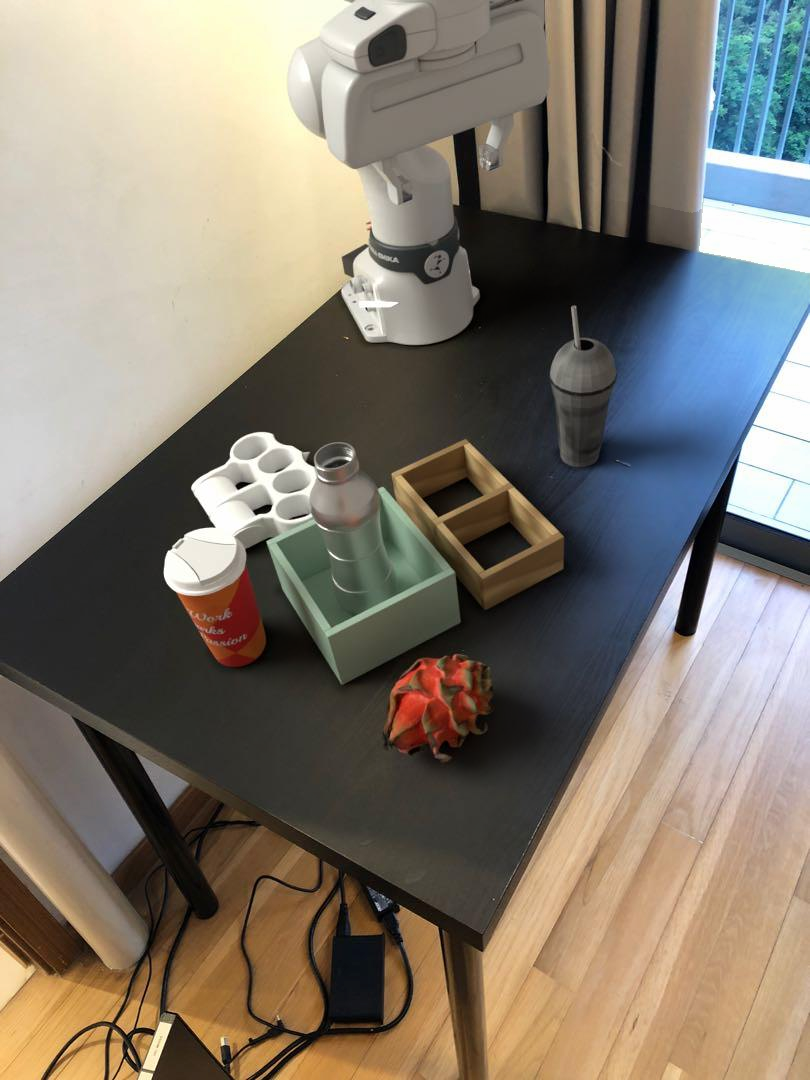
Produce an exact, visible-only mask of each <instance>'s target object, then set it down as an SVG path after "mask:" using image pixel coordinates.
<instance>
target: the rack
mask: <svg viewBox="0 0 810 1080" xmlns="http://www.w3.org/2000/svg"><path fill="white" fill-rule="evenodd" d="M391 479H392V480H391V481H392V484H393V491H394V496H395V501H396V502H397V503H398V505H399V506H400V507H401V508H402V509H403V511H404V512H405V513H406V514H407V515H408V517H409V518H410V519H411V520H412V521H413V523H414V524H415V525H416V526H417V527H418V529H419V530H420V531H421V532H422V533H423V535H424V536H425V537H426V538H427V539H428V540H429V542H430V543H431V544H432V545H433V546H434V548H435V549H436V550H437V551H438V552H439V554H440V555H441V556H442V557H443V558H444V560H445V561H446V562H447V563H448V564H449V566H450V567H451V568H452V569H453V571H454V572H455V576H456V577H457V578H456V579H458V581H460V583H461V584H462V585H463V586H464V587H465V588H466V590H467V591H468V592H469V593H470V595H471V596H472V597H473V598H474V599H475V601H476V602H477V603H478V604H479V605H480V606H481V607H482V609H483V610H484V611H486V610H489V609H490V608H492V607H494V606H496V605H498V604H500V603H501V602H504V601H506V600H507V599H509V598H511V597H514V596H515V595H516V594H519V593H521V592H523V591H524V590H526V589H528V588H530V587H532V586H534V585H536V584H538V583H540V582H541V581H544V580H546V579H547V578H549V577H551V576H553V575H554V574H557V573H558V572H560V571H562V570H564V559H565V558H564V557H565V556H564V555H565V554H564V553H565V536H564V535H563V534H562V533H561V532H560V531H559V530H558V529H557V528H556V527H555V526H554V525H553V523H551V522H550V521H549V520H548V519H547V518H546V517H545V516H544V515H543V514H542V513H541V512H540V511H539V510H538V509H537V508H536V507H535V506H534V505H533V504H532V503H531V502H530V501H529V500H528V499H527V498H526V496H524V495H523V494H522V493H521V492H520V491H519V490H518V489H516V487H515V486H514V485H513V484H512V483H511V482H510V481H509V480H507V478H506V477H505V476H503V474H502V473H501V472H500V471H498V469H496V467H495V466H494V465H493V464H491V462H489V460H488V459H487V458H485V456H484V455H483V454H481V452H479V451H478V449H476V447H474V445H472V444H471V442H470V441H468V439H467V438H465V439H462V440H461V441H457V442H455V443H454V444H452V445H450V446H447V447H445V448H443V449H441V450H439V451H437V452H434V453H432V454H430V455H428V456H426V457H424V458H422V459H420V460H419V459H418V460H417V461H415V462H413V463H411V464H409V465H406V466H404V467H402V468H400V469H397V470H396V471H393V472H392V473H391ZM463 479H468V481H470V483H472V485H473V486H474V487H475V488H476V489H477V490H478V491H479V492H480V493H481V494H482V496H480V497H478V498H476V499H474V500H471V501H470V502H467V503H465V504H464V505H461V506H459V507H457V508H455V509H453V510H451V511H449V512H447V513H444V514H443V515H441V516H438V515H436V513H435V512H434V511H433V510H432V508H430V506H429V505H428V504H427V503H426V502H425V501H424V498H426V497H429V496H430V495H432V494H435V493H436V492H438V491H441V490H443V489H444V488H446V487H449V486H451V485H453V484H455V483H457V482H460V481H462V480H463ZM508 523H510V524H511V525H512V526H513V528H514V529H515V530H516V531H518V533H519V534H520V535H521V536H522V537H523V538H524V539H525V540H526V541H527V542H528V543H529V544H530V545H531V547H529V548H527V549H525V550H523V551H521V552H519V553H517V554H515V555H513V556H511V557H509V558H507V559H505V560H503V561H501V562H499V563H498V564H495V565H493V566H491V567H489V568H487V569H486V570H485V569H484V568H483V567H482V566H481V564H479V562H478V561H477V560H476V559H475V558H474V557H473V556H472V555H471V553H470V552H469V551H468V550H467V549H466V547H465V546H464V545H467V544H468V543H471V542H472V541H474V540H476V539H478V538H480V537H482V536H484V535H487V534H488V533H490V532H492V531H494V530H496V529H498V528H500V527H502V526H504V525H507V524H508Z"/></svg>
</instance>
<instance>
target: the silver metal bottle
mask: <svg viewBox="0 0 810 1080" xmlns="http://www.w3.org/2000/svg"><path fill="white" fill-rule="evenodd" d="M313 464H314V467H315V468H316V469H315V472H316V476H317V481H316V482H315V484H314V486H313V488H312V490H311V492H310V498H309V509H310V512H311V514H312V517H313V519H314V521H315V523H316V524H317V526H318V528H319V530H320V532H321V534H322V536H323V539H324V542H325V544H326V547H327V550H328V553H329V556H330V562H331V569H332V589H333V594H334V596H335V598H336V599H337V601H338V603H339V604H340V606H341V607H342V608H343V609H344V610H346V611H347V612H350V613H352V614H355V615H358V614H360V613H362V612H364V611H366V610H368V609H370V608H372V607H374V606H376V605H378V604H380V603H382V602H384V601H386V600H388V599H390V598H392V597H394V596H395V595H396V591H397V575H396V572H395V570H394V567H393V565H392V563H391V561H390V560H389V558H388V555H387V552H386V549H385V546H384V544H383V540H382V534H381V525H380V497H379V491H378V489H379V488H378V486H377V484H376V483H375V482H374V479H372V478H371V476H369V475H368V474H367V473H366V472H364V471H363V470H361V469H360V463H359V460H358V458H357V453H356V450H355V448H354V447H353V445H351V444H349V443H347V442H343V441H337V442H335V441H334V442H331V443H328V444H325V445H323V446H322V447H320V448H319V449H318V450H317V451H316V452H315V454H314V457H313Z"/></svg>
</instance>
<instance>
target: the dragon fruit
mask: <svg viewBox="0 0 810 1080" xmlns="http://www.w3.org/2000/svg"><path fill="white" fill-rule="evenodd" d="M390 691H391V692H390V695H389V702H388V704H387V707H386V712H385V714H386V715H388V716H387V719H386V723H385V725H384V727H383V730H382V741H383V744H382V746H383V749H384V751H386V752H388V751H389V749H390V748H391V750H393V747H395V748H397V750H398V752H399V753H401V754H404V755H407V756H409V757H413V756H414V754H418V753H423V752H424V751H425V750H427V749H428V747H423V746H421V745H424V744H429V747H430V750H431V754H432V755H433V757H434V758H435V759H438V760H439V761H440V763H441V764H444V763H446V762H448V761H450V760H452V758H453V756H450V755H448V754H446V753H441V752H440V751H439V750H440V747H441V745H442V744H443V743H444V742H445V741H447V742H448V745H449V747H451V748H460V747H462V746H463V745H462V744H463V743H464V741H465V740H466V737H467V735H468V734H469V733H470V732H471V733H472V734H474V735H482V734H484V733H486V732H487V731H488V724H487V722H485V723H484V729H480V728H479V727H477V725H476V720H477V717H478V716H479V715H483V716H486V715H488V714H490V713H492V712H494V709H495V704H493V703H492V702H490V700H491V699H493V693H494V687H493V681H492V676H491V668H490V666H488V665H486V664H485V663H483V662H481V661H475V660H472V659H470V657H469V656H468V655H466V654H459V653H455V654H453V656H450V655H444V656H443V657H441V658H432V657H422V658H419V659H417V660H416V661H415V662H414V663H413V664H412V665H411V666H410V667H409V668H408V669H407V670H405V671H404V672H403V673H402V674H401V675H400V677H399V678H398V680H397V681H396V682H395V685H394V686H393V688H392V689H391V690H390ZM393 754H394V755H395V756H396V757H397V755H396V753H395V752H394V753H393Z"/></svg>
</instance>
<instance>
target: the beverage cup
mask: <svg viewBox="0 0 810 1080" xmlns="http://www.w3.org/2000/svg"><path fill="white" fill-rule="evenodd" d="M570 310H571V317H572V318H571V319H572V327H573V329H572V330H573V337H574V339H572V340H570V341H568V342H566V343H565V344H564V345H562V346H561V347H560V348H559V349H558V351H557V352H556V353H555V356H554V358H553V360H552V361H551V362H552V363H551V366H550V371H549V374H548V377H549V378H548V379H549V382H550V387H551V390H552V395H553V396H554V397H553V398H554V409H555V418H556V428H557V441H558V448H559V454H560V459H561V460H562V462H563V463H564V464H566V465H567V466H570V467H573V468H586V467H589V466H591V465H594V464H595V463H596V462H597V461H598V460H599V457H600V452H601V448H602V444H603V439H604V434H605V433H604V432H605V427H606V421H607V416H608V411H609V405H610V399H611V396H612V393H613V389H614V388H615V387H614V386H615V384H616V382H617V378H618V374H617V369H616V362H615V359H614V356H613V354H612V352H611V351H610V350H609V348H608V347H607V346H606V345H605V344H604V343H603V342H601V341H599V340H597V339H595V338H591V337H580V330H579V329H580V328H579V320H578V312H577V311H578V310H577V306H576V305H572V306H571V307H570Z"/></svg>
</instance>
